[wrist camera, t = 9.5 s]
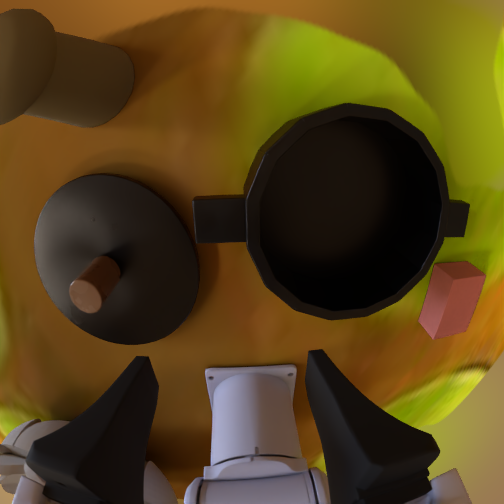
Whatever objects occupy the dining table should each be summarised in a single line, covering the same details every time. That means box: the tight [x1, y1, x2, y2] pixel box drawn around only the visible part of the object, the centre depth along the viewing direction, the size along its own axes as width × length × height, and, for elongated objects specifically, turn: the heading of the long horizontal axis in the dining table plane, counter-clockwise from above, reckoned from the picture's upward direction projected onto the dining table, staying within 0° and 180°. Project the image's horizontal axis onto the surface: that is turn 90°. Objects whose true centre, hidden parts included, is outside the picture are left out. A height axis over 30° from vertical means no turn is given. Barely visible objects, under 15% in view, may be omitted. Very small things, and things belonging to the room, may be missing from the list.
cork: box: [0, 9, 135, 127], centre depth 9 cm, size 6×6×11 cm
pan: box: [192, 103, 470, 320], centre depth 17 cm, size 12×18×4 cm
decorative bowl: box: [0, 419, 178, 504], centre depth 23 cm, size 30×30×15 cm
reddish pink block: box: [418, 261, 486, 340], centre depth 21 cm, size 6×4×3 cm
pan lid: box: [34, 173, 200, 345], centre depth 17 cm, size 14×14×5 cm
